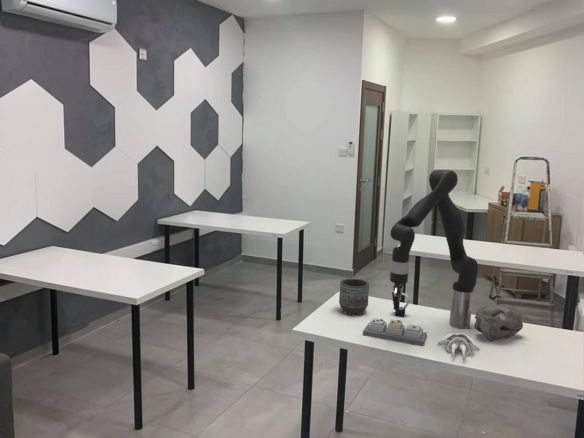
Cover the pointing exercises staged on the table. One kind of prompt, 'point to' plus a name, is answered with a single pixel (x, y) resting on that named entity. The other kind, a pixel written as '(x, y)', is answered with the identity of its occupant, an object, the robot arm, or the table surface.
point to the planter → (353, 295)
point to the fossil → (497, 322)
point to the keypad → (395, 334)
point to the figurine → (459, 343)
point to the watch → (401, 308)
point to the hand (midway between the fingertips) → (396, 309)
